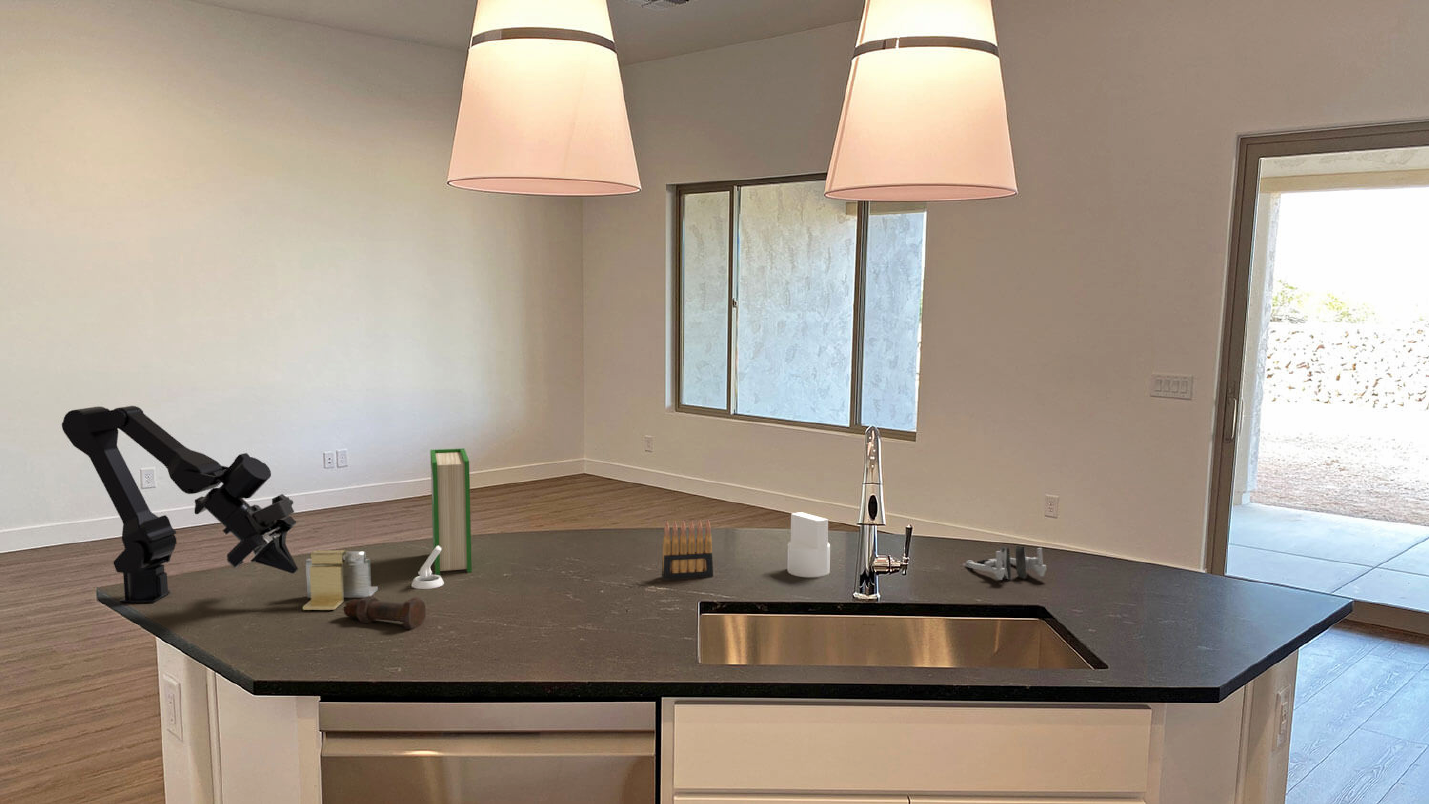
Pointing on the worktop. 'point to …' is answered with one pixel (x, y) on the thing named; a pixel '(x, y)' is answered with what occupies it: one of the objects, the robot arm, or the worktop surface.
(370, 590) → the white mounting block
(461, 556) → the hardback book
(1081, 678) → the worktop surface
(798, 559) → the cylinder with rectangular tab
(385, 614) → the bolt
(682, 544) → the ammunition clip
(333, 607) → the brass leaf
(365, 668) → the worktop surface
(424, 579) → the hook
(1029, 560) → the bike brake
